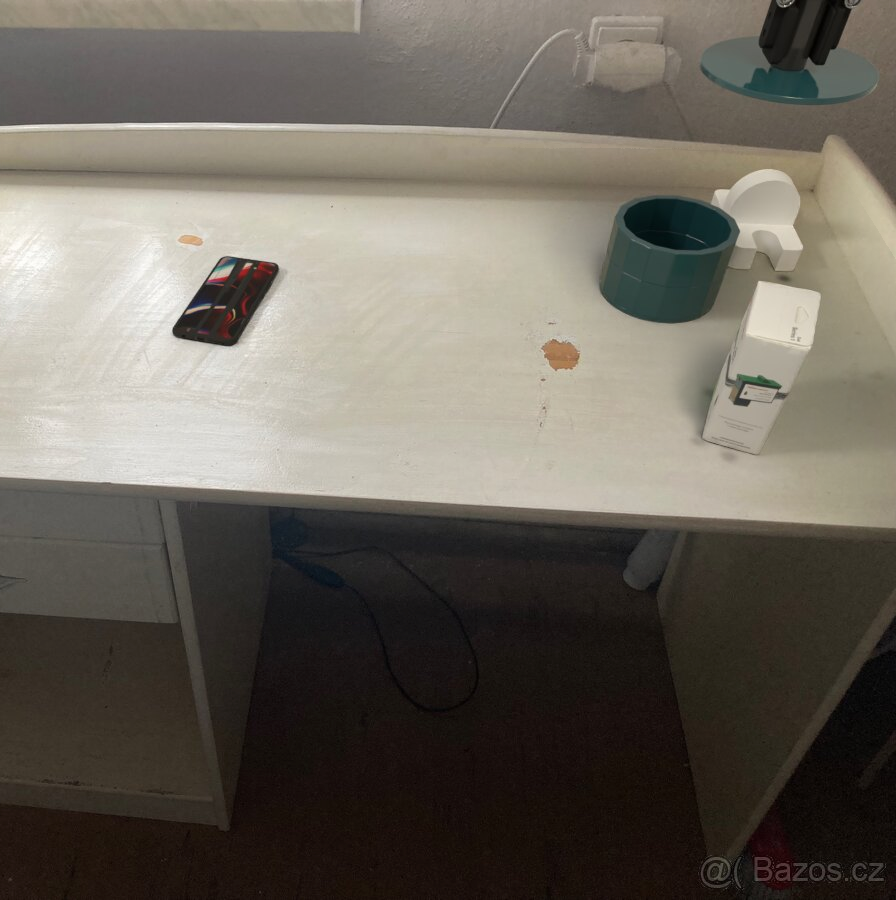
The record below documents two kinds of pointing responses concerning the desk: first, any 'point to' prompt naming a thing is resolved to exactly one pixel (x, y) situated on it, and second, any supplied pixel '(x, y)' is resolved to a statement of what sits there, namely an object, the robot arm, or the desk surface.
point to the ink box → (762, 366)
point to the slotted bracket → (763, 218)
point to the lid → (791, 66)
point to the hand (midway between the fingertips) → (792, 56)
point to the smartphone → (226, 300)
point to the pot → (667, 257)
